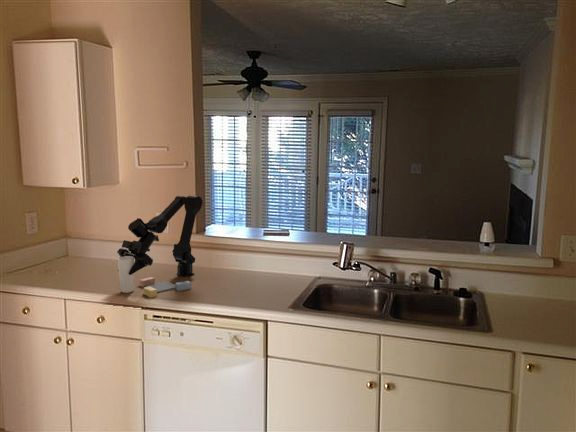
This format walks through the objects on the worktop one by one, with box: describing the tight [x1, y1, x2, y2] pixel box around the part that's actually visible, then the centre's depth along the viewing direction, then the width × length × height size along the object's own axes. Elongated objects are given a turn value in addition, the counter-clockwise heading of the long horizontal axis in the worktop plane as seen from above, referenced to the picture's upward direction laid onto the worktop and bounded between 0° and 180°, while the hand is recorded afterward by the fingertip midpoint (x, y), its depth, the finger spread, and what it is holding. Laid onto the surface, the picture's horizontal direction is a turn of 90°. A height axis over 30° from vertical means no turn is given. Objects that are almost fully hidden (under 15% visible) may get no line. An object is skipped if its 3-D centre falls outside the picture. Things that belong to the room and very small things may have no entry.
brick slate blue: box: [175, 280, 192, 292], centre depth 214 cm, size 6×3×3 cm, turn 125°
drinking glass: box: [117, 256, 135, 294], centre depth 208 cm, size 7×7×15 cm
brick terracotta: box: [139, 276, 156, 288], centre depth 219 cm, size 6×3×3 cm, turn 137°
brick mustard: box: [142, 286, 158, 298], centre depth 205 cm, size 6×3×3 cm, turn 44°
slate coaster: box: [144, 280, 176, 294], centre depth 215 cm, size 11×11×1 cm
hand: (123, 272), depth 207 cm, fingers open, 7 cm apart
